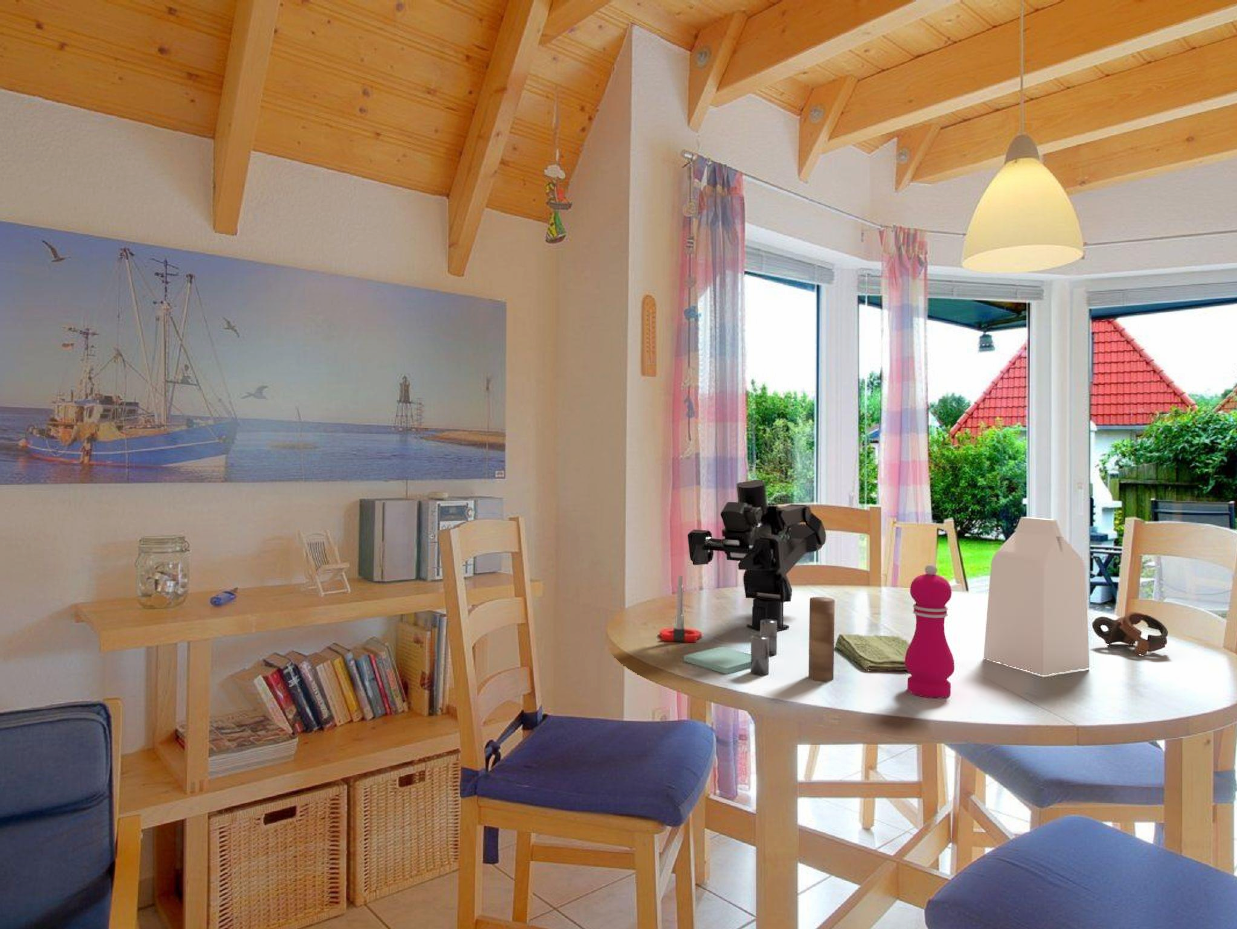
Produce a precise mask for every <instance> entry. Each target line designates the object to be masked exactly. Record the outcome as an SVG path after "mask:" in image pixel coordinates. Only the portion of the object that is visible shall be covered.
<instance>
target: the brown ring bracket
mask: <svg viewBox="0 0 1237 929" xmlns="http://www.w3.org/2000/svg"><path fill="white" fill-rule="evenodd" d="M1142 621H1143V622H1144V623H1146V625H1147V628H1149V629H1151V630H1157V631H1159V632H1160V634H1158V635H1156V634H1155V635H1153V634H1148V635H1147V639H1145V638H1144V637H1142V633H1143V631H1141V630H1140V629H1138V628H1136V626H1135V625H1138V624H1139V623H1141V622H1142ZM1091 626H1092V627H1091V628H1092V629H1093V631H1094V633H1095V634H1096V635H1097V637H1098V638H1101V639H1102V640H1104V643H1105V644H1106V645H1107V644H1109V645H1110V646H1111V645H1112V644H1113V643H1114V644H1115V643H1123V644H1126V645H1129V644H1134V645H1135V644H1136V642H1137V644H1136V647H1135V648H1133V654H1135V655H1137V654H1141V655H1144V656H1145V655H1147V654H1148V653H1152V652H1157V651H1160V650H1161V649H1164V648H1166V645H1167V644H1168V640H1167V637H1168V635H1169V634H1168V633H1169V631H1168V628H1167V627H1166V626H1165V624H1163V623H1162V622H1161V621H1160V620H1158V619H1157V618H1155V617H1153V616H1150V615H1148V614H1146V613H1145V614H1144V613H1141V612H1138V611H1134V612H1133V611H1129V612H1127V613H1125V615H1124V616H1121V617H1118V618H1117V619H1112V618H1109V617H1106V616H1099V617H1096V618H1095V619H1094V620H1093V621H1092V624H1091ZM1102 626H1106V628H1107V630H1105V631H1104V630H1103V628H1102Z"/></svg>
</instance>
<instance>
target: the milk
mask: <svg viewBox="0 0 1237 929" xmlns="http://www.w3.org/2000/svg"><path fill="white" fill-rule="evenodd" d="M1086 572H1087V571H1086V565H1085V562H1084V560H1083V558H1082V557H1081V556H1080V554H1079V553H1078V552H1077V551H1076V549H1074V548H1073V547H1072V545H1071V544H1070V543H1069V542H1068V541H1067V540H1066V539H1065V538H1064V537H1063V535H1062V532H1061V530H1060V527H1059V524H1058V521H1057V519H1052V518H1051V519H1050V518H1042V517H1041V518H1040V517H1030V516H1021V517H1020V518H1019V521H1018V524H1017V526H1016V527H1015V532H1013V533H1012V534H1011V535H1010V537H1008V539H1007V540H1006V541H1004V543H1003V544H1002V545H1001V546H1000V547H999V548H998V549H997V551H996V552H995V553H994V554H993V556H992V558H991V562H990V573H989V585H988V587H989V588H988V599H987V610H986V611H987V612H986V620H985V622H986V624H985V635H984V648H983V659H984V658H985V659H989V660H991V661H995V662H1000V663H1001V664H1006V665H1008V666H1012V667H1016V668H1019V669H1023V670H1027V671H1030V672H1033V673H1037V674H1040V675H1049V674H1052V673H1059V672H1066V671H1070V670H1078V669H1086V668H1089V667H1090V651H1089V650H1090V648H1089V625H1088V622H1089V621H1088V619H1089V618H1088V601H1087V600H1088V599H1087V598H1088V597H1087V577H1086V574H1087V573H1086ZM985 659H984V660H985ZM991 661H990V662H991ZM1001 664H1000V665H1001ZM1008 666H1007V667H1008Z"/></svg>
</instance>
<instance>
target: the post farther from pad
mask: <svg viewBox="0 0 1237 929" xmlns="http://www.w3.org/2000/svg"><path fill="white" fill-rule="evenodd" d="M759 631H760V633H759V635H762V636H767V637H769V657H770V656H776V655H777V654H778V651H777V648H778V645H777V644H778V642H777V641H778V631H777V621H776V620H771V619H763V620H761V625H760V630H759Z"/></svg>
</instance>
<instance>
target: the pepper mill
mask: <svg viewBox="0 0 1237 929" xmlns="http://www.w3.org/2000/svg"><path fill="white" fill-rule="evenodd" d="M924 571H925V573H924V574H919V575H918V576H916V577H914V579H913V580H912V581H911V584H910V589H909V593H910V596H911V598H912V599H913V600H914V602H915V603H914V604H913V605H912V607H913V611H912V613H913V614H914V615H915V630H914V634H913V637H912V638H911V641H910V643H909V644H910V645H909V647H908V649H907V652H906V656H905V667H906V669H907V670H906V671H907V672H909V674H910V676H908V677H907V686H906V687H907V690H908V692H910V693H911V694H913V695H916V696H918V697H919V696H920V697H923V696H926V697H925V698H929V697H944V698H947V697H946V696H948V697H949V696H950V695H951V694H952V693H951V682H950V681H949V680H948V679H949V678H950V677H951V676H952V675H953V674H954V672H955V659H954V656H953V653H952V651H951V648H950V647H949V644H948V642H947V638H946V634H945V619H946V617H947V616H949V615H948V610H949V608H948V606H947V605H946V604H947V603H949V601H950V600H951V598H952V587H951V583H950V582H949V581H948V580H947V579H946V578H945V577H943V576H940V575H938V574H937V573H938V568H937V566H936V565H934V564H931V563H930V564H929V563H928V564H927V565H926V566H925V568H924Z"/></svg>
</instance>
